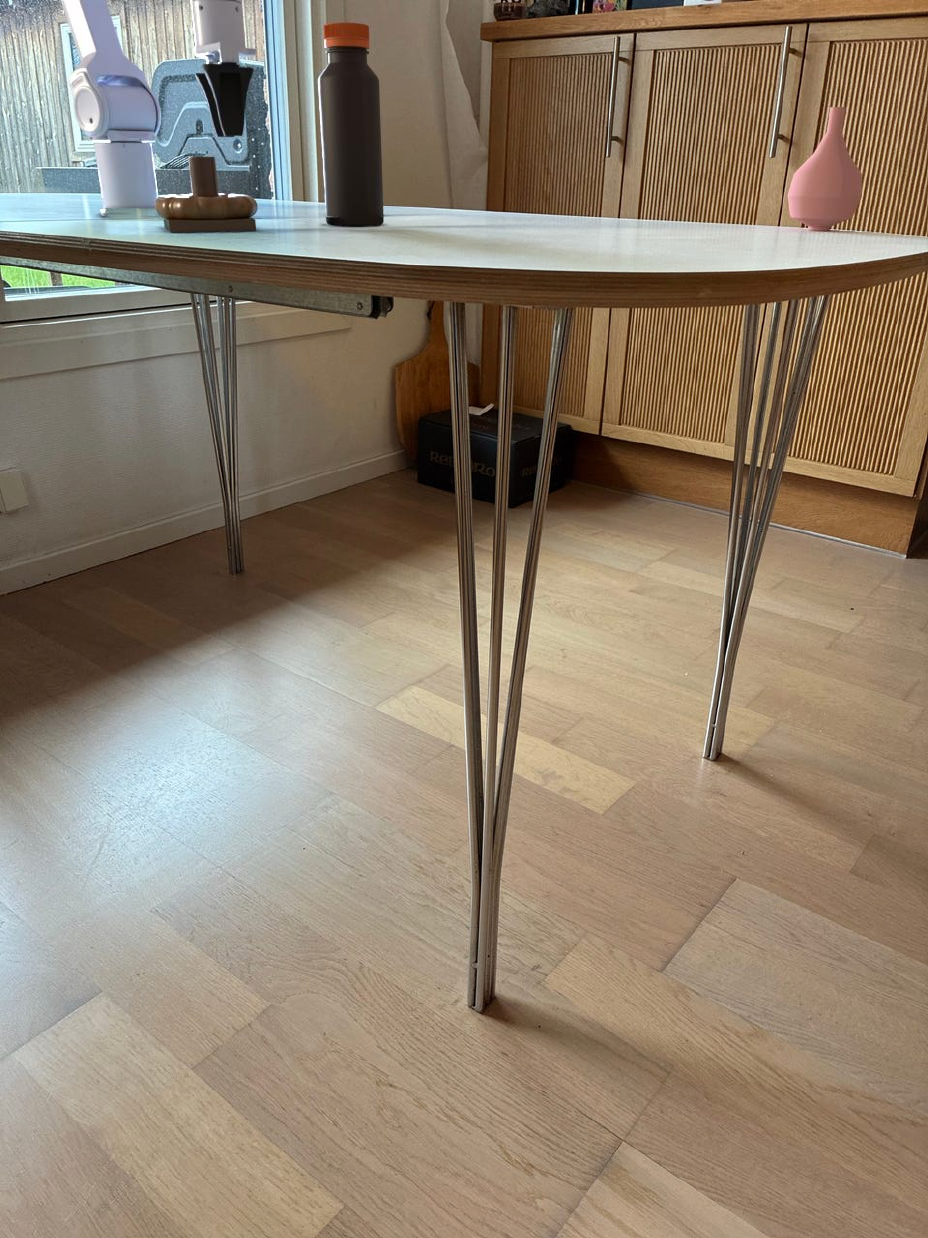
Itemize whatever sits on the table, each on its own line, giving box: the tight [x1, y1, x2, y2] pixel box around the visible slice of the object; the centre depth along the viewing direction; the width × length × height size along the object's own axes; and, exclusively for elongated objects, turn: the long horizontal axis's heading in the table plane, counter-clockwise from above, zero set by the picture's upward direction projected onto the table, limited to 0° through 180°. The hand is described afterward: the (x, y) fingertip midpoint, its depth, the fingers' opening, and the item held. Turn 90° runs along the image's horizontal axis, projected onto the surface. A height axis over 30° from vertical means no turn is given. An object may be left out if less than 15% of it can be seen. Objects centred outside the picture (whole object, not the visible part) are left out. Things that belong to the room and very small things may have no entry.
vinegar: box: [317, 22, 385, 228], centre depth 106 cm, size 7×7×20 cm
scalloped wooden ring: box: [155, 193, 259, 220], centre depth 103 cm, size 11×11×2 cm
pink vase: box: [787, 106, 863, 232], centre depth 102 cm, size 8×8×12 cm
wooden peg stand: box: [163, 156, 257, 234], centre depth 102 cm, size 9×9×7 cm
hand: (229, 136), depth 114 cm, fingers open, 7 cm apart
